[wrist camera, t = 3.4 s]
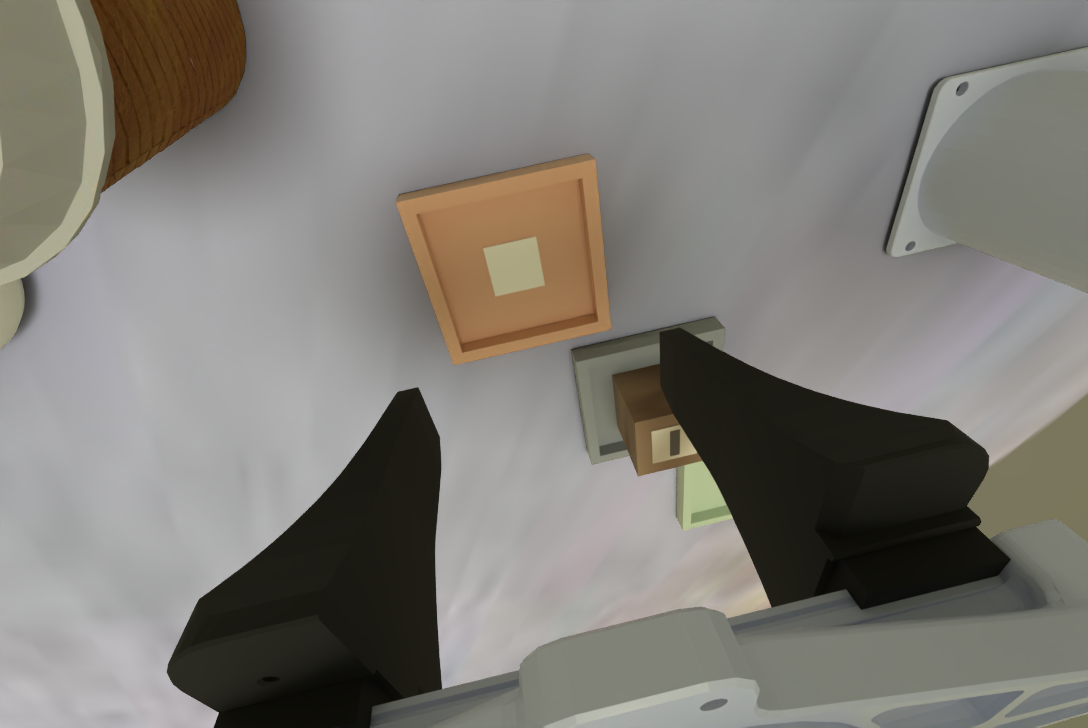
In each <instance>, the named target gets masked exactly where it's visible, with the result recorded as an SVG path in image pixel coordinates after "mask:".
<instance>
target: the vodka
mask: <svg viewBox="0 0 1088 728" xmlns="http://www.w3.org/2000/svg"><path fill="white" fill-rule="evenodd" d="M24 304H25V297H24V289H23V284H22V280H21V278H20V279H18V280H15V281H12V282H9V283H6V284H3V285H0V349H1V348H3V347H4V346H5V345H6V344H7V343H8V342H9V341H10V340H11V339H12V337H13V336H14V334H15V333H16V331H17V329H18V326H19V323H20V320H21V317H22V314H23V311H24Z"/></svg>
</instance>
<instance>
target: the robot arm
mask: <svg viewBox="0 0 1088 728" xmlns="http://www.w3.org/2000/svg"><path fill="white" fill-rule="evenodd" d="M959 85H960V88H959V89H958V91H957V92H956V90H957V88H958V86H959ZM957 243H960V244H963V245H965V246H968V247H971V248H973V249H976V250H978V251H981V252H983V253H986V254H989V255H991V256H994V257H996V258H999V259H1001V260H1004V261H1007V262H1009V263H1012V264H1014V265H1017V266H1019V267H1022V268H1024V269H1027V270H1030V271H1032V272H1035V273H1037V274H1040V275H1042V276H1045V277H1048V278H1050V279H1053V280H1055V281H1058V282H1060V283H1063V284H1066V285H1068V286H1071V287H1073V288H1076V289H1078V290H1081V291H1084V292H1086V293H1088V47H1084V48H1080V49H1075V50H1070V51H1066V52H1061V53H1056V54H1052V55H1047V56H1043V57H1038V58H1033V59H1029V60H1024V61H1020V62H1015V63H1010V64H1006V65H1001V66H996V67H992V68H987V69H983V70H978V71H973V72H969V73H964V74H960V75H955V76H950V77H947V78H945V79H943V80H942V81H940V82H939V83H938V85H937V86H936V87H935V89H934V91H933V94H932V97H931V100H930V104H929V107H928V110H927V114H926V117H925V120H924V124H923V127H922V131H921V134H920V137H919V141H918V144H917V147H916V151H915V154H914V157H913V161H912V164H911V168H910V171H909V174H908V178H907V181H906V184H905V188H904V191H903V194H902V198H901V201H900V205H899V208H898V211H897V215H896V218H895V221H894V225H893V228H892V231H891V235H890V238H889V241H888V245H887V249H886V252H887V254H889V255H891V256H893V257H900V256H904V255H909V254H913V253H918V252H922V251H926V250H931V249H935V248H939V247H944V246H948V245H953V244H957ZM907 244H908V245H907ZM906 245H907V246H906ZM659 338H660V386H661V388H662V391H663V393H664V395H665V398H666V400H667V402H668V404H669V406H670V408H671V411H672V413H673V415H674V416H675V418H676V419H677V421H678V423H679V424H680V426H681V427H682V429H683V431H684V432H685V434H686V435H687V437H688V439H689V440H690V442H691V443H692V445H693V447H694V448H695V450H696V451H697V453H698V454H699V456H700V458H701V459H702V461H703V462H704V464H705V465H706V467H707V469H708V470H709V472H710V474H711V475H712V477H713V479H714V481H715V482H716V484H717V486H718V488H719V490H720V492H721V494H722V496H723V498H724V500H725V503H726V505H727V507H728V509H729V511H730V513H731V515H732V517H733V519H734V521H735V524H736V526H737V528H738V530H739V532H740V534H741V536H742V539H743V541H744V543H745V545H746V548H747V550H748V552H749V554H750V557H751V559H752V561H753V564H754V566H755V568H756V570H757V573H758V575H759V577H760V580H761V582H762V585H763V587H764V589H765V592H766V594H767V597H768V599H769V602H770V604H771V607H772V608H768V609H764V610H760V611H756V612H752V613H748V614H744V615H740V616H736V617H732V618H728V619H727V618H726V616H725V614H724V613H721V612H719V611H716V610H712V609H708V608H705V607H694V608H686V609H677V610H673V611H669V612H665V613H661V614H657V615H653V616H649V617H645V618H641V619H637V620H633V621H629V622H625V623H621V624H617V625H613V626H608V627H604V628H600V629H596V630H592V631H588V632H584V633H580V634H576V635H572V636H568V637H564V638H560V639H558V640H555V641H553V642H550V643H547V644H545V645H542V646H540V647H538V648H537V649H536V650H534V651H533V652H532V653H531V654H529V655H528V656H527V657H526V658H525V659H524V660H523V661H522V663H521V664H520V670H518V671H514V672H510V673H506V674H502V675H498V676H494V677H490V678H486V679H482V680H478V681H474V682H470V683H465V684H461V685H457V686H453V687H449V688H445V689H442V682H441V670H440V658H439V642H438V625H437V604H436V577H435V538H436V525H437V514H438V502H439V491H440V478H441V450H440V437H439V434H438V432H437V430H436V427H435V425H434V423H433V420H432V418H431V416H430V413H429V411H428V409H427V406H426V404H425V402H424V399H423V397H422V395H421V392H420V390H419V388H418V387H417V388H413V389H408V390H404V391H400V392H397V394H396V395H395V397H394V398H393V400H392V401H391V403H390V404H389V406H388V407H387V409H386V410H385V412H384V413H383V415H382V417H381V418H380V420H379V421H378V423H377V424H376V426H375V427H374V429H373V430H372V432H371V433H370V435H369V436H368V438H367V439H366V441H365V442H364V444H363V445H362V446H361V448H360V449H359V450H358V452H357V453H356V454H355V456H354V457H353V458H352V460H351V461H350V462H349V464H348V465H347V466H346V468H345V469H344V470H343V471H342V473H341V474H340V475H339V476H338V477H337V479H336V480H335V481H334V482H333V483H332V484H331V486H330V487H329V488H328V489H327V490H326V491H325V492H324V493H323V494H322V496H321V497H320V498H319V499H318V500H317V501H316V502H315V503H314V504H313V505H312V506H311V507H310V508H309V509H308V510H307V511H306V512H305V513H304V514H303V515H302V516H301V517H300V518H299V519H298V520H297V521H296V522H295V523H294V524H292V525H291V526H290V527H289V528H288V529H287V530H286V531H285V532H284V533H283V534H282V535H281V536H279V537H278V538H277V539H276V540H275V541H274V542H273V543H271V544H270V545H269V546H268V547H267V548H266V549H264V550H263V551H262V552H261V553H260V554H258V555H257V556H256V557H255V558H254V559H252V560H251V561H250V562H248V563H247V564H246V565H245V566H243V567H242V568H241V569H240V570H238V571H237V572H235V573H234V574H233V575H231V576H230V577H229V578H227V579H226V580H225V581H223V582H222V583H221V584H219V585H218V586H217V587H215V588H214V589H213V590H211V591H210V592H209V593H207V594H206V595H204V596H203V597H202V598H200V599H199V600H198V602H197V604H196V606H195V608H194V610H193V612H192V615H191V617H190V619H189V621H188V623H187V625H186V627H185V629H184V631H183V634H182V636H181V638H180V640H179V642H178V644H177V646H176V648H175V650H174V653H173V655H172V657H171V659H170V661H169V663H168V668H167V674H168V676H169V678H170V680H171V682H172V683H173V685H175V686H176V687H177V688H178V689H180V690H181V691H182V692H184V693H186V694H188V695H189V696H191V697H193V698H194V699H196V700H198V701H200V702H201V703H203V704H205V705H207V706H208V707H210V708H212V709H214V710H215V711H217V712H219V714H218V717H217V720H216V723H215V725H214V728H1041V727H1044V726H1047V725H1051V724H1054V723H1058V722H1061V721H1064V720H1068V719H1071V718H1074V717H1078V716H1081V715H1085V714H1088V543H1087V542H1086V541H1084V540H1083V539H1082V538H1080V537H1079V536H1078V535H1077V534H1075V533H1074V532H1073V531H1072V530H1070V529H1069V528H1068V527H1066V526H1065V525H1064V524H1063V523H1061V522H1060V521H1059V520H1053V519H1052V520H1047V521H1043V522H1039V523H1035V524H1031V525H1027V526H1022V527H1018V528H1015V529H1010V530H1007V531H1004V532H1002V533H999V534H998V535H996V536H994V537H992V538H991V539H988V538H987V537H986V536H985V535H984V534H983V533H982V532H981V531H980V530H979V529H978V528H977V527H976V526H979V525H980V523H981V520H980V517H979V516H977V515H976V514H975V513H974V512H973V511H972V510H970V508H969V507H967V505H968V503H969V501H970V500H971V498H972V497H973V495H974V494H975V492H976V490H977V489H978V487H979V486H980V484H981V482H982V481H983V479H984V477H985V475H986V473H987V471H988V467H989V455H988V454H987V452H986V450H985V449H984V448H983V447H982V446H980V445H979V444H978V443H976V442H975V441H974V440H972V439H971V438H970V437H968V436H967V435H966V434H965V433H963V432H962V431H961V430H959V429H958V428H957V427H955V426H954V425H953V424H951V423H950V422H949V421H947V420H941V419H935V418H929V417H923V416H917V415H911V414H905V413H899V412H894V411H889V410H884V409H880V408H875V407H871V406H866V405H862V404H858V403H854V402H850V401H846V400H842V399H839V398H835V397H832V396H829V395H825V394H822V393H819V392H815V391H812V390H809V389H806V388H803V387H801V386H798V385H795V384H793V383H790V382H787V381H785V380H782V379H779V378H777V377H775V376H772V375H770V374H768V373H765V372H763V371H761V370H759V369H757V368H755V367H752V366H750V365H748V364H746V363H744V362H742V361H740V360H738V359H736V358H734V357H732V356H730V355H728V354H727V353H725V352H723V351H721V350H719V349H717V348H716V347H714V346H712V345H710V344H708V343H707V342H705V341H703V340H701V339H700V338H698V337H696V336H694V335H693V334H691V333H689V332H687V331H685V330H684V329H682V328H680V327H679V328H675V329H671V330H666V331H662V332H659Z"/></svg>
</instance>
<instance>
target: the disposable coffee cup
mask: <svg viewBox="0 0 1088 728" xmlns="http://www.w3.org/2000/svg"><path fill="white" fill-rule="evenodd" d="M245 60H246V45H245V32H244V28H243V24H242V20H241V17H240V13H239V9H238V5H237V3H236V0H0V285H3V284H6V283H9V282H12V281H15V280H18V279H20V278H23V277H26V276H27V275H29V274H30V273H32V272H33V271H35V270H36V269H38V268H39V267H41V266H42V265H44V264H45V263H47V262H48V261H50V260H51V259H53V258H54V257H56V256H57V255H58V254H59V253H60V252H61V251H62V250H63V249H64V248H65V247H66V246H67V245H68V244H69V243H70V242H71V241H72V240H73V239H74V238H75V237H76V236H77V235H78V234H79V233H80V231H81V229H82V228H83V226H84V225H85V223H86V222H87V220H88V219H89V217H90V215H91V214H92V212H93V211H94V209H95V208H96V206H97V205H98V203H99V199H100V194H101V193H102V192H103V191H105V190H106V189H107V188H109V187H110V186H111V185H113V184H115V183H116V182H117V181H119V180H120V179H121V178H123V177H124V176H126V175H127V174H129V173H130V172H131V171H133V170H134V169H136V168H137V167H140V166H141V165H142V164H143V163H145V162H146V161H147V160H150V159H151V158H152V157H153V156H155V155H156V154H157V153H158V152H161V151H163V150H164V149H165V148H167V147H168V146H169V145H171V144H172V143H174V142H175V141H176V140H178V139H179V138H181V137H182V136H183V135H185V134H186V133H188V132H189V131H190V130H191V129H193V128H195V127H196V126H197V125H198V124H200V123H202V122H203V121H204V120H205V119H207V118H208V117H210V116H212V115H214V114H215V113H216V112H218V111H219V110H220V109H221V108H223V107H224V106H225V105H227V103H228V102H229V101H230V100H231V99H232V97H233V96H234V95H235V94H236V92H237V89H238V86H239V84H240V81H241V78H242V76H243V73H244V67H245Z"/></svg>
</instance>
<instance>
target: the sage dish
mask: <svg viewBox="0 0 1088 728" xmlns="http://www.w3.org/2000/svg"><path fill="white" fill-rule="evenodd" d="M732 518H733V517H732V515H731V513H730V511H729V509H728V507H727V505H726V503H725V500H724V498H723V496H722V494H721V492H720V490H719V488H718V486H717V484H716V482H715V481H714V479H713V477H712V475H711V474H710V472H709V470H708V469H707V467H706V465H705V464H704V462H703V461H700V462H696V463H692V464H688V465H683V466H679V467H677V519H678V521H679V523H680V525H681V528H682V530H687V529H691V528H695V527H699V526H703V525H707V524H712V523H716V522H720V521H724V520H728V519H732Z"/></svg>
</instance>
